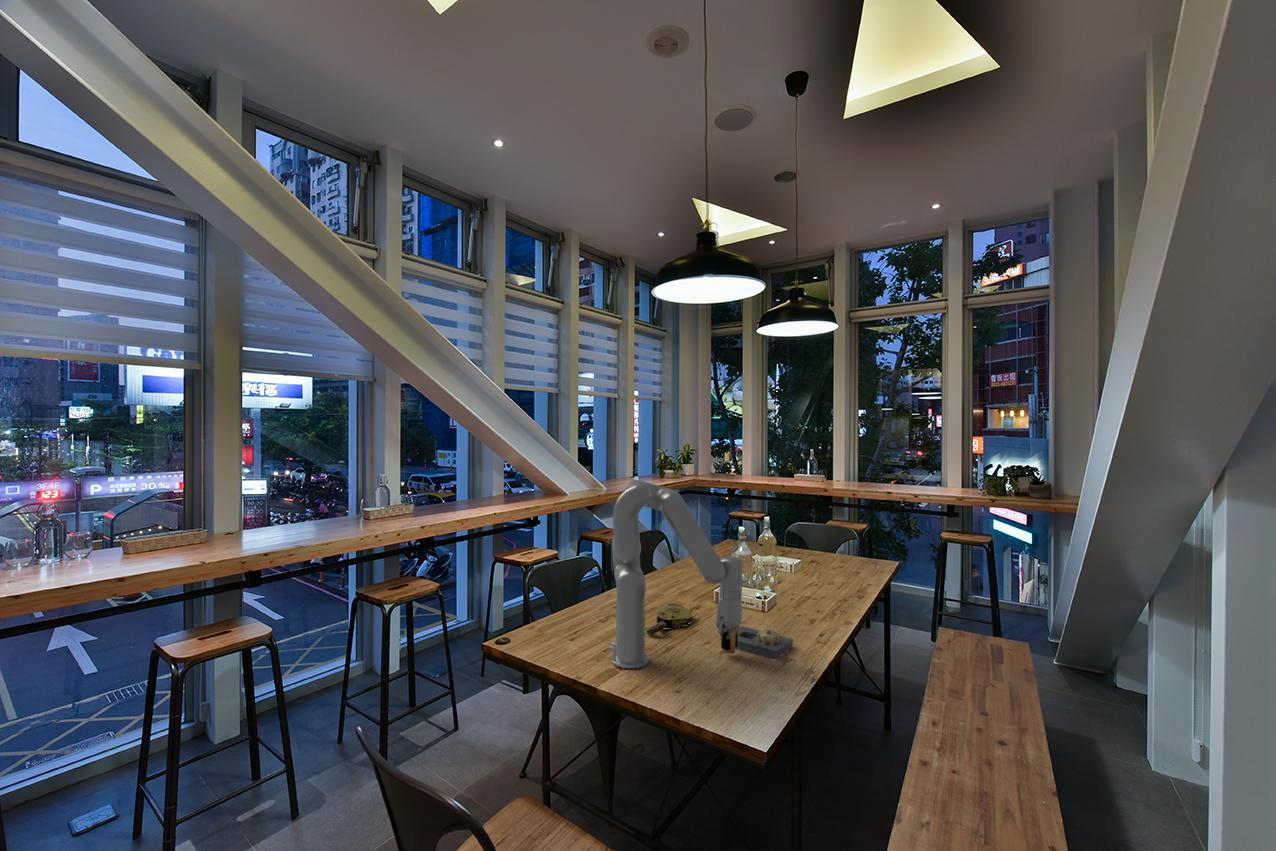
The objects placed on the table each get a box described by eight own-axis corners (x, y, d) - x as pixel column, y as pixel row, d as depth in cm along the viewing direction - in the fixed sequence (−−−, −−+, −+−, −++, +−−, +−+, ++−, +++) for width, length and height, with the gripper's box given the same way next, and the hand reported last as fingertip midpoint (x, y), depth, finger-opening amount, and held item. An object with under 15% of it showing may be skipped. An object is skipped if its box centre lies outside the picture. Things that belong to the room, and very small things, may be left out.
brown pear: (721, 651, 183) (721, 627, 183) (726, 647, 186) (727, 624, 186) (731, 654, 180) (732, 630, 180) (737, 650, 183) (737, 627, 183)
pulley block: (634, 617, 204) (671, 597, 229) (632, 632, 204) (669, 610, 230) (667, 630, 196) (701, 607, 222) (665, 645, 197) (699, 621, 222)
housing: (723, 645, 193) (723, 627, 193) (742, 634, 204) (742, 616, 204) (775, 660, 180) (775, 640, 180) (792, 647, 191) (792, 629, 191)
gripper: (732, 586, 192) (731, 638, 192) (708, 596, 179) (706, 651, 179) (751, 590, 188) (750, 643, 187) (727, 601, 175) (726, 658, 174)
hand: (729, 647), depth 183 cm, fingers closed on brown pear, 4 cm apart
